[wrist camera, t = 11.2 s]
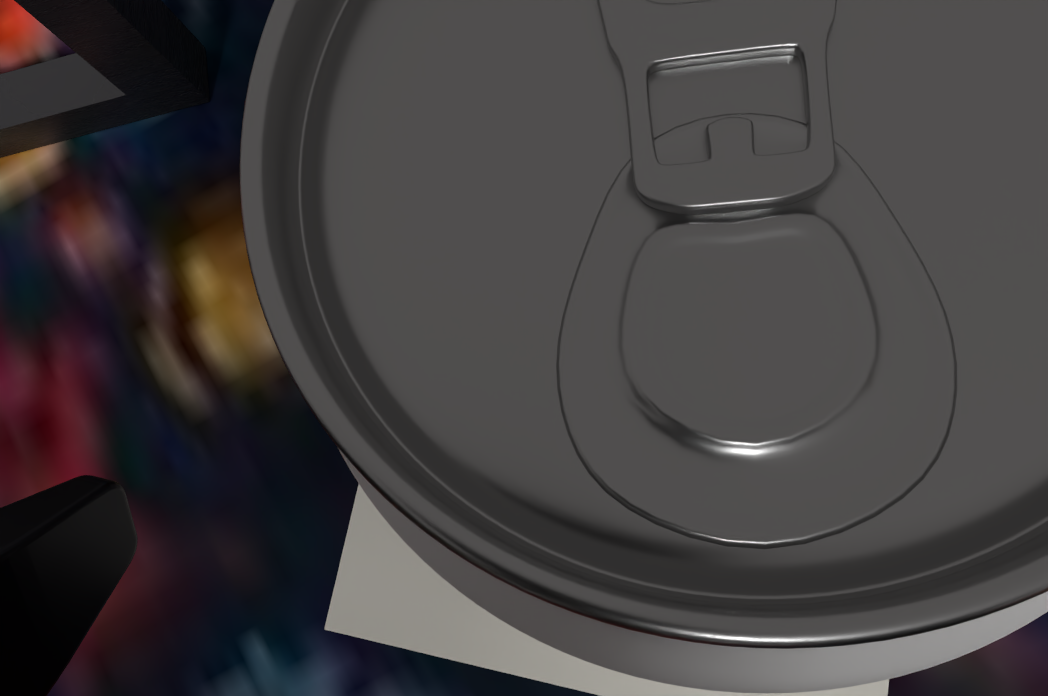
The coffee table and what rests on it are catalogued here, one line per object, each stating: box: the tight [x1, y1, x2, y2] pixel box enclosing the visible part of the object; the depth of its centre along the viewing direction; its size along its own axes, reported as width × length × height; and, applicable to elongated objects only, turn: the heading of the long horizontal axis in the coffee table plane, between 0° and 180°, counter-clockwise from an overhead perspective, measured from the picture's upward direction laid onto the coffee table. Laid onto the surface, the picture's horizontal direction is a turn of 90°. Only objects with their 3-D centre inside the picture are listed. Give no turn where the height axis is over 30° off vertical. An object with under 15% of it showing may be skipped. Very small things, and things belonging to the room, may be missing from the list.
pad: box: [324, 484, 889, 696], centre depth 16 cm, size 10×10×1 cm
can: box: [240, 0, 1048, 693], centre depth 10 cm, size 6×6×12 cm
